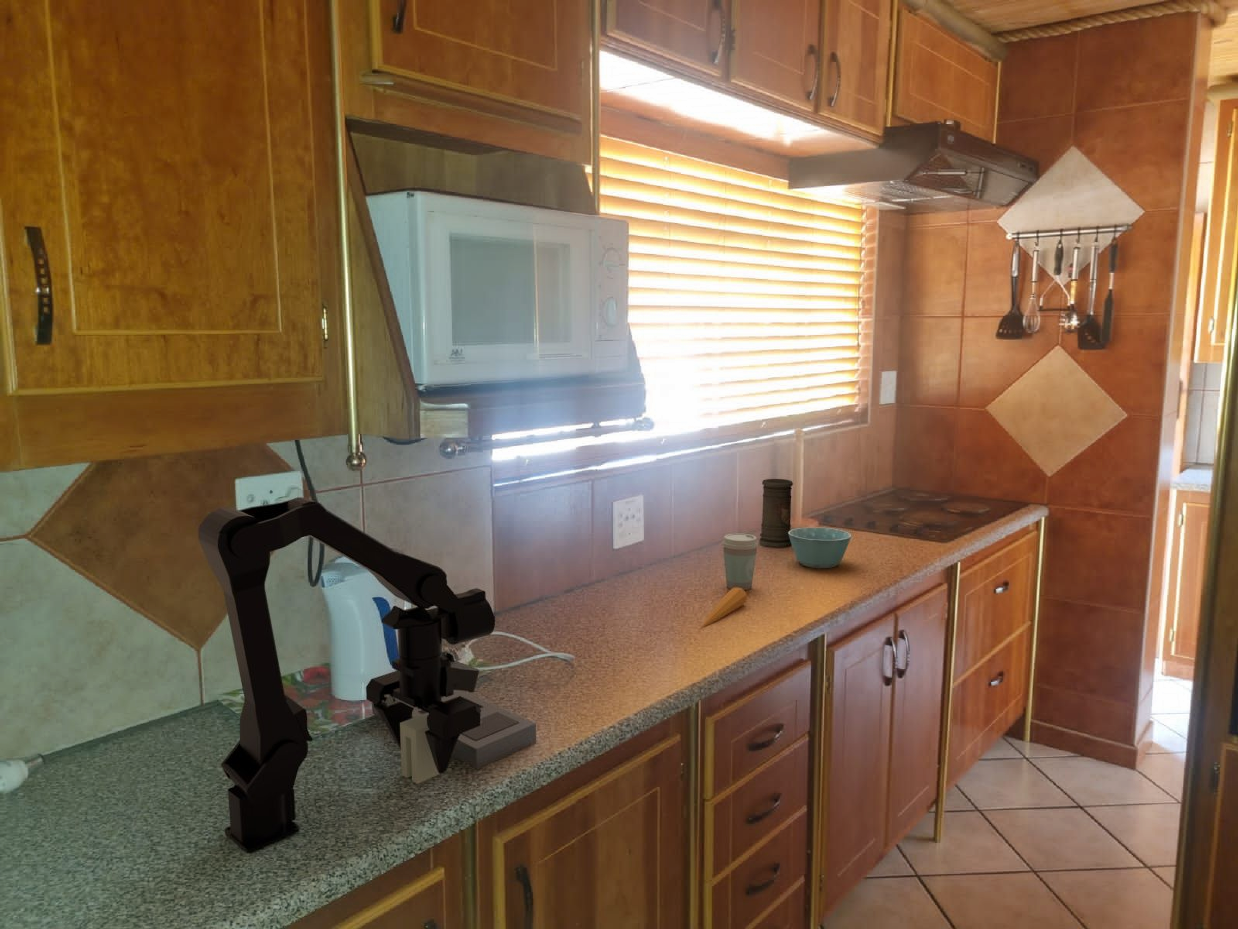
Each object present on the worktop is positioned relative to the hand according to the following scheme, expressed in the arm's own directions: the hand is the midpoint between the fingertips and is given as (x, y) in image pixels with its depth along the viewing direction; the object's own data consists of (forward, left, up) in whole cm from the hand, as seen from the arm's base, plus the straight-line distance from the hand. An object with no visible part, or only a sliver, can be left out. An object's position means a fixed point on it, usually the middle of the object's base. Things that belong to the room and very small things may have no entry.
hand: (423, 761), depth 123 cm
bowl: (+134, +17, -2) cm, 135 cm away
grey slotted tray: (+11, +8, -2) cm, 14 cm away
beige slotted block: (0, 0, -2) cm, 2 cm away
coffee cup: (+103, +20, -2) cm, 105 cm away
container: (+145, +37, -2) cm, 150 cm away
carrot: (+83, +11, -2) cm, 84 cm away
